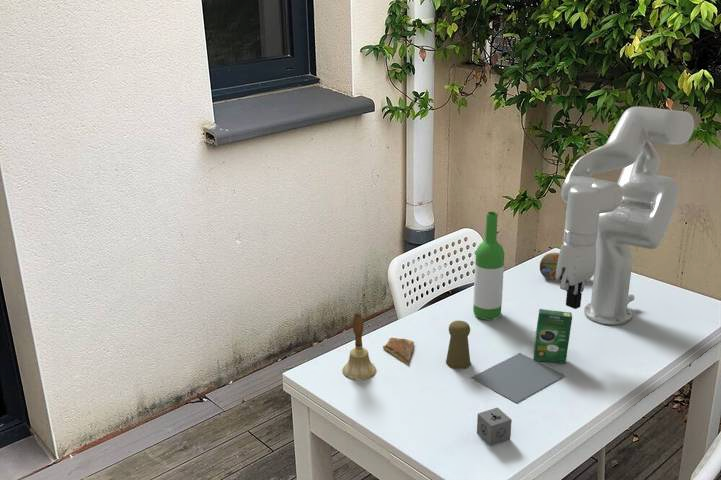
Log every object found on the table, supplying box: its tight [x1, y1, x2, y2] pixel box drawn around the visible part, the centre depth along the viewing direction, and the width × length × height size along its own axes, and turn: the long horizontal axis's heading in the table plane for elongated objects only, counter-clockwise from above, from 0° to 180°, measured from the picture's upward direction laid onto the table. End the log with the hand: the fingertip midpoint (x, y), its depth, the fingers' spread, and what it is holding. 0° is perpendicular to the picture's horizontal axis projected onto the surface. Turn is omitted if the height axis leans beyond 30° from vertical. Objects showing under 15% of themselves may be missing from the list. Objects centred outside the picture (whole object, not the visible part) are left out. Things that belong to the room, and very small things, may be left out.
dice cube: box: [476, 406, 512, 447], centre depth 159 cm, size 5×5×5 cm
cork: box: [445, 320, 471, 370], centre depth 186 cm, size 6×6×11 cm
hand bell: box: [341, 311, 377, 380], centre depth 183 cm, size 8×8×16 cm
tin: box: [539, 252, 562, 282], centre depth 233 cm, size 15×3×8 cm, turn 81°
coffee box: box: [533, 308, 573, 364], centre depth 186 cm, size 8×3×13 cm, turn 78°
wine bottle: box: [472, 211, 505, 320], centre depth 207 cm, size 8×8×30 cm
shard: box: [382, 337, 415, 365], centre depth 193 cm, size 11×8×2 cm
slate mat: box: [470, 352, 566, 404], centre depth 182 cm, size 18×14×1 cm
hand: (572, 306), depth 188 cm, fingers closed
